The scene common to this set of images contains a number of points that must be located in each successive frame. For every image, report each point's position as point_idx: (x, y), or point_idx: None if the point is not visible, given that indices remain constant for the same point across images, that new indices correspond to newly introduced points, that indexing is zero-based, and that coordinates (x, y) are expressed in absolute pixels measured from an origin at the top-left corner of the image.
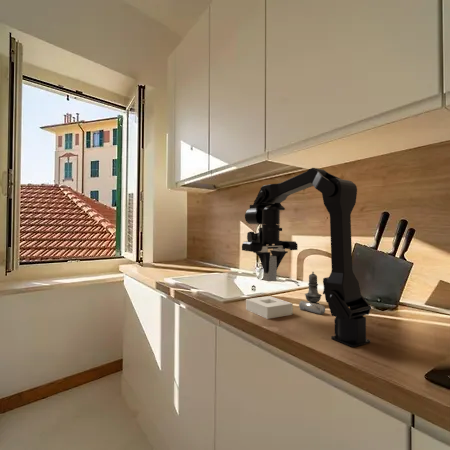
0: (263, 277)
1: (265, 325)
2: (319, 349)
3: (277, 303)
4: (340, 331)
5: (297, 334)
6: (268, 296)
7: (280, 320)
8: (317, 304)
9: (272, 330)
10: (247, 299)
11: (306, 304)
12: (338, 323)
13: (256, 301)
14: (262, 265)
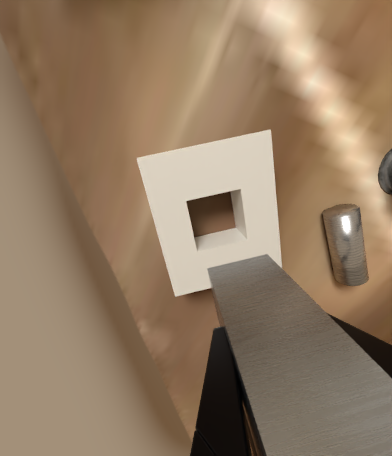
0: (210, 279)
1: (148, 319)
2: (190, 427)
3: (233, 260)
4: (248, 433)
5: (192, 375)
6: (261, 136)
7: (204, 293)
8: (358, 271)
9: (151, 349)
10: (142, 166)
11: (340, 242)
12: (254, 445)
13: (169, 212)
14: (203, 397)
